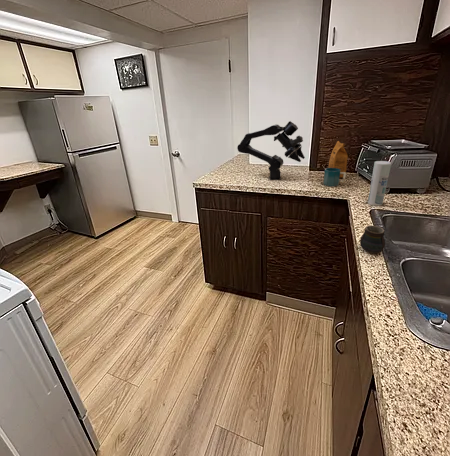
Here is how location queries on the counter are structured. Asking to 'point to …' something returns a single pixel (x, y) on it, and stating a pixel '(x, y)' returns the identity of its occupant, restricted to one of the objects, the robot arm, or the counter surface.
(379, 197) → the spray can
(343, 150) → the coffee package
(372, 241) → the mate gourd
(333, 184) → the mug
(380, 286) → the counter surface
